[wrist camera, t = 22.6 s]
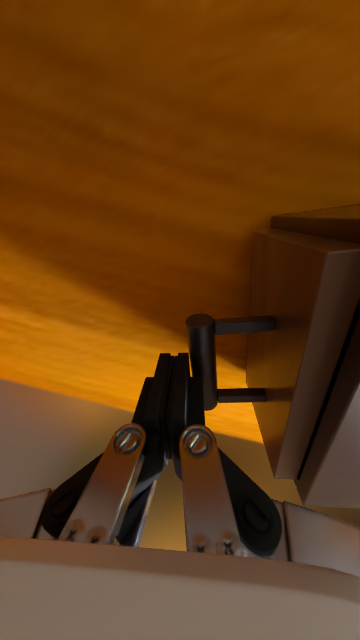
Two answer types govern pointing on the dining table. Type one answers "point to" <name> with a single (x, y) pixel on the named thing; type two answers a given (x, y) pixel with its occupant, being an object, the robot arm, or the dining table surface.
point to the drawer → (287, 338)
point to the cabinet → (348, 392)
